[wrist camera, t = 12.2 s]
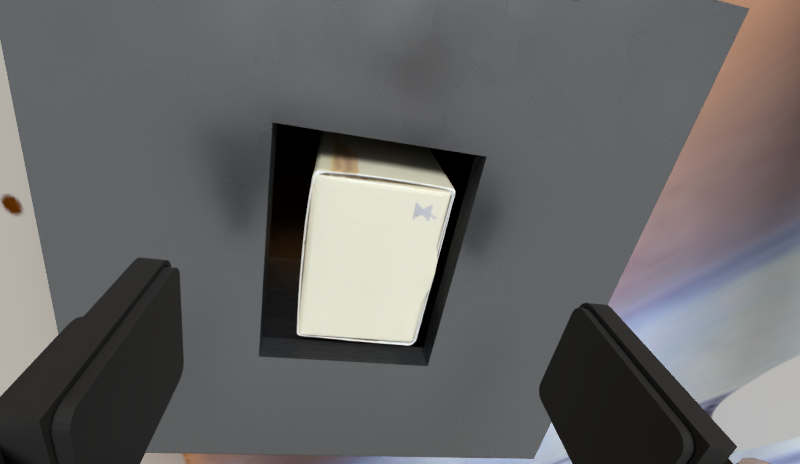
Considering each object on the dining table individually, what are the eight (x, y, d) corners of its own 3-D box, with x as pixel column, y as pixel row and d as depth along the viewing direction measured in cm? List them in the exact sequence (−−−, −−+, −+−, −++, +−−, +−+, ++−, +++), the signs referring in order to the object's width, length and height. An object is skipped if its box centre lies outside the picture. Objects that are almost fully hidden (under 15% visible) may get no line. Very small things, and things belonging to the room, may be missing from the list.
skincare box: (327, 92, 22) (310, 156, 11) (406, 106, 23) (463, 179, 12) (314, 203, 25) (290, 342, 14) (386, 212, 26) (417, 350, 15)
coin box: (550, 17, 22) (749, 8, 11) (464, 300, 29) (533, 458, 19) (180, -69, 18) (-48, -202, 8) (190, 276, 26) (81, 451, 15)
